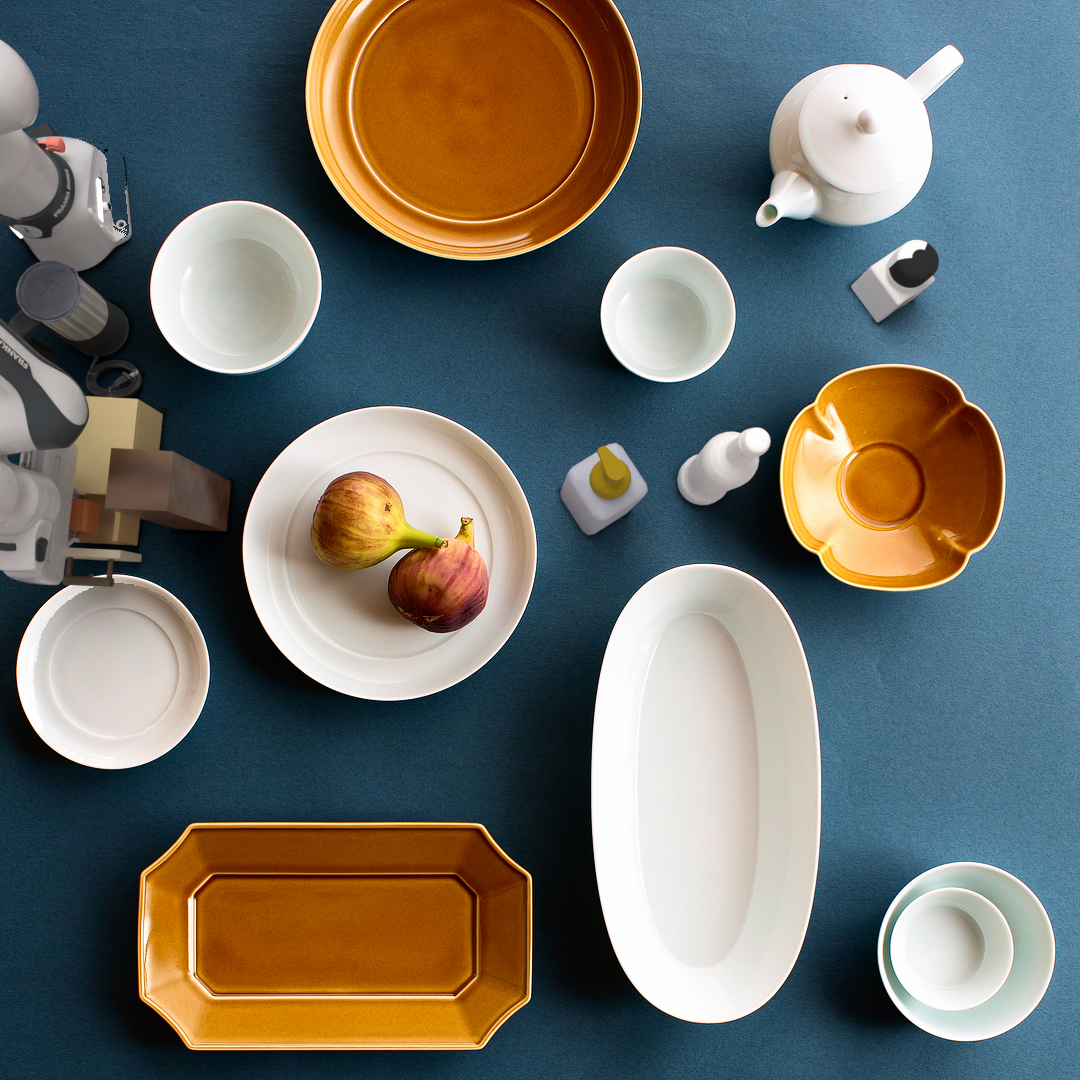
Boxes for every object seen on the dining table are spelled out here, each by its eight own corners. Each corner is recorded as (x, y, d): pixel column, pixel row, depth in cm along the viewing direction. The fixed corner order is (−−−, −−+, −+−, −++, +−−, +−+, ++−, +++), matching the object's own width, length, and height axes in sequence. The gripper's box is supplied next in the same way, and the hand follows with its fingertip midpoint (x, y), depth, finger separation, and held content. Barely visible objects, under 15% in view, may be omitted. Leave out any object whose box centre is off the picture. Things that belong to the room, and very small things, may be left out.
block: (69, 502, 116) (50, 497, 111) (100, 504, 116) (82, 498, 111) (66, 533, 116) (46, 528, 111) (97, 534, 116) (79, 530, 111)
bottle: (693, 448, 129) (749, 394, 99) (734, 476, 129) (802, 431, 99) (665, 487, 128) (713, 445, 98) (706, 516, 128) (767, 483, 98)
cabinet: (153, 504, 124) (127, 495, 116) (72, 500, 124) (40, 491, 115) (163, 414, 126) (138, 398, 118) (82, 409, 126) (51, 393, 117)
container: (912, 299, 133) (955, 264, 120) (876, 323, 133) (916, 291, 120) (885, 262, 134) (925, 224, 121) (849, 287, 133) (885, 250, 120)
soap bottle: (602, 463, 128) (625, 423, 103) (633, 509, 127) (663, 480, 103) (556, 492, 127) (568, 459, 102) (586, 539, 127) (606, 517, 102)
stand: (180, 478, 125) (110, 447, 103) (231, 481, 125) (173, 451, 104) (175, 529, 124) (104, 508, 102) (226, 531, 124) (167, 511, 103)
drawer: (138, 589, 122) (116, 586, 115) (63, 585, 122) (37, 583, 115) (150, 476, 124) (129, 467, 117) (76, 472, 124) (51, 463, 117)
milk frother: (93, 291, 128) (38, 247, 113) (176, 339, 127) (133, 302, 113) (43, 364, 126) (-19, 330, 111) (127, 413, 126) (77, 385, 111)
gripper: (3, 421, 102) (63, 445, 115) (-17, 579, 99) (47, 585, 113) (53, 424, 102) (107, 448, 116) (34, 582, 100) (91, 587, 113)
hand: (77, 517), depth 114 cm, fingers closed on block, 4 cm apart
